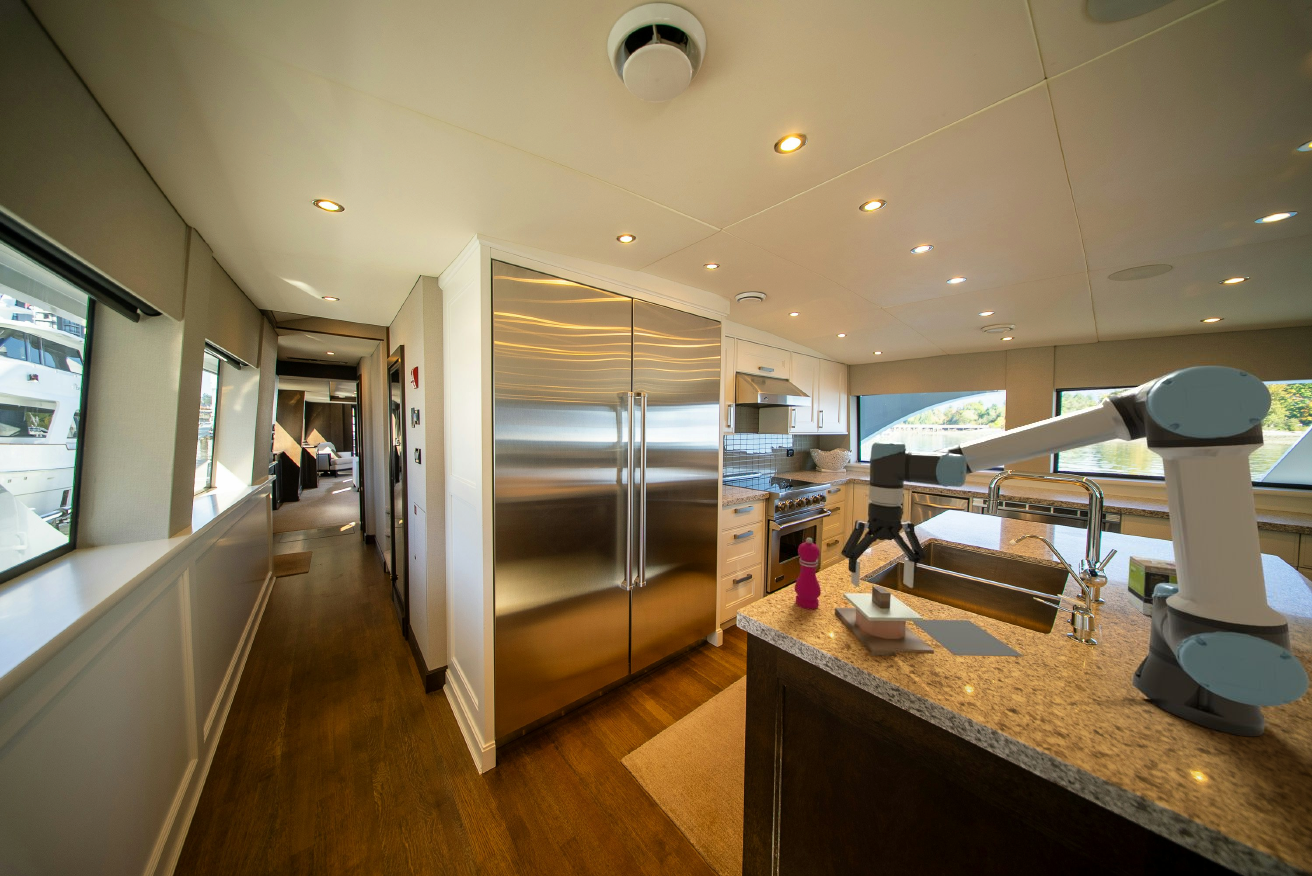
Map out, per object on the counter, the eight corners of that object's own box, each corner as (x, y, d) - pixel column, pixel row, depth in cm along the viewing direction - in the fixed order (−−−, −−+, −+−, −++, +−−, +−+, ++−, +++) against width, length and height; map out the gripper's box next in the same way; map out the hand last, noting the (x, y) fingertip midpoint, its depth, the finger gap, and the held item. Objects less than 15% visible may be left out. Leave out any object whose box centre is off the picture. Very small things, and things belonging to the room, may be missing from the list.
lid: (922, 620, 95) (923, 601, 95) (869, 620, 95) (870, 601, 95) (890, 596, 108) (891, 579, 108) (843, 596, 108) (843, 578, 108)
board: (933, 656, 92) (933, 649, 92) (873, 655, 92) (873, 648, 92) (884, 613, 112) (884, 608, 112) (834, 612, 112) (835, 607, 112)
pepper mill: (822, 611, 113) (825, 542, 112) (795, 608, 114) (798, 540, 113) (817, 599, 120) (819, 535, 119) (792, 597, 121) (794, 533, 120)
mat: (1023, 660, 91) (1023, 655, 91) (954, 659, 91) (954, 654, 91) (968, 623, 107) (969, 620, 107) (909, 622, 107) (909, 619, 107)
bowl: (914, 638, 96) (915, 619, 96) (869, 638, 96) (870, 618, 96) (888, 616, 107) (889, 598, 107) (848, 615, 107) (848, 597, 107)
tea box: (1202, 615, 114) (1207, 564, 113) (1226, 630, 106) (1231, 576, 105) (1125, 601, 122) (1129, 554, 121) (1141, 614, 114) (1145, 564, 113)
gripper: (924, 500, 104) (920, 579, 105) (829, 499, 104) (826, 578, 105) (945, 506, 96) (940, 592, 98) (843, 505, 97) (839, 590, 98)
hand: (881, 584), depth 101 cm, fingers open, 13 cm apart
